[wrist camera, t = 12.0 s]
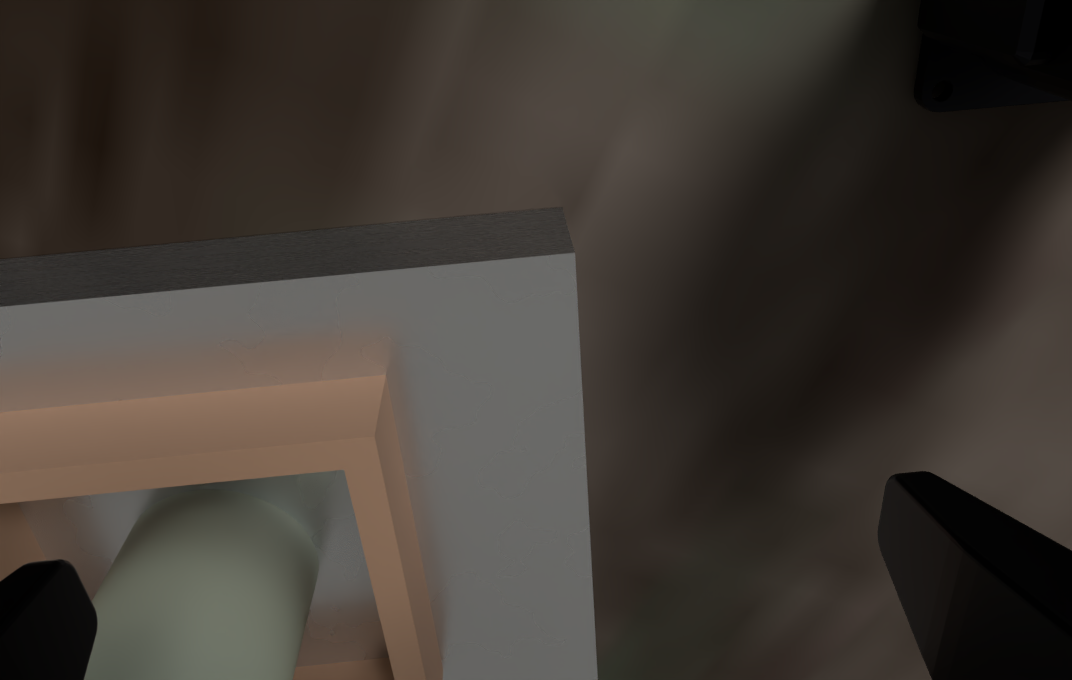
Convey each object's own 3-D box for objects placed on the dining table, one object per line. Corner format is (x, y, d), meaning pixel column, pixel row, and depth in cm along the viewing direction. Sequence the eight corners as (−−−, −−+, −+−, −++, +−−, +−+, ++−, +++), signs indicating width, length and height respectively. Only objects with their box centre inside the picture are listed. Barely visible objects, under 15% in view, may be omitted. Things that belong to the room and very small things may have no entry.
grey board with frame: (562, 207, 21) (588, 302, 16) (588, 635, 28) (610, 785, 24) (-228, 280, 20) (-446, 400, 15) (19, 695, 28) (-75, 860, 23)
